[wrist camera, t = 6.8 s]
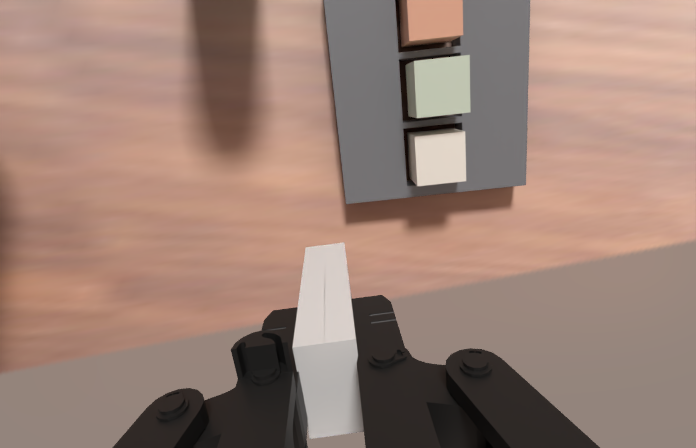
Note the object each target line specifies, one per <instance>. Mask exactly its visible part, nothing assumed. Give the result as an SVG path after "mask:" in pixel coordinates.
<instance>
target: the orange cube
mask: <svg viewBox="0 0 696 448" xmlns="http://www.w3.org/2000/svg"><path fill="white" fill-rule="evenodd" d="M399 13H400V29H401V45H402V47H409V46H418V45H427V44H436V43H445V42H451V41H453V40H455V39H457V38H458V37H460V36H462V35H463V0H399Z"/></svg>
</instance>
